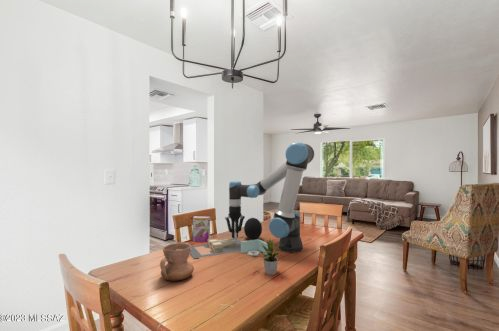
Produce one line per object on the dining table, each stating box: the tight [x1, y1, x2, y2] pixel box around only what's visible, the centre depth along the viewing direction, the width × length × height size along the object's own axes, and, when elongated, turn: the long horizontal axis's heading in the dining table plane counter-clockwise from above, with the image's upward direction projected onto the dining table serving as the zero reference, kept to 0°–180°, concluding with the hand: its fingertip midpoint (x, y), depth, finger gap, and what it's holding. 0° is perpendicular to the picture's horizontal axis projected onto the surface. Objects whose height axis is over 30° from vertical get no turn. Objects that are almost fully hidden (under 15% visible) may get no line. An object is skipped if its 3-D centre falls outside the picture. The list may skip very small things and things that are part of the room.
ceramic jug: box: [159, 241, 195, 282], centre depth 118 cm, size 18×14×14 cm
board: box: [189, 239, 242, 260], centre depth 159 cm, size 22×36×1 cm, turn 117°
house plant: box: [257, 237, 283, 275], centre depth 125 cm, size 14×14×16 cm
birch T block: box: [206, 237, 236, 253], centre depth 160 cm, size 15×15×4 cm
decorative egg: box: [243, 217, 263, 240], centre depth 179 cm, size 12×12×15 cm
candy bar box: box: [191, 215, 211, 243], centre depth 175 cm, size 11×5×16 cm, turn 84°
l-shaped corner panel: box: [240, 238, 268, 258], centre depth 148 cm, size 12×12×8 cm
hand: (234, 242), depth 164 cm, fingers closed
